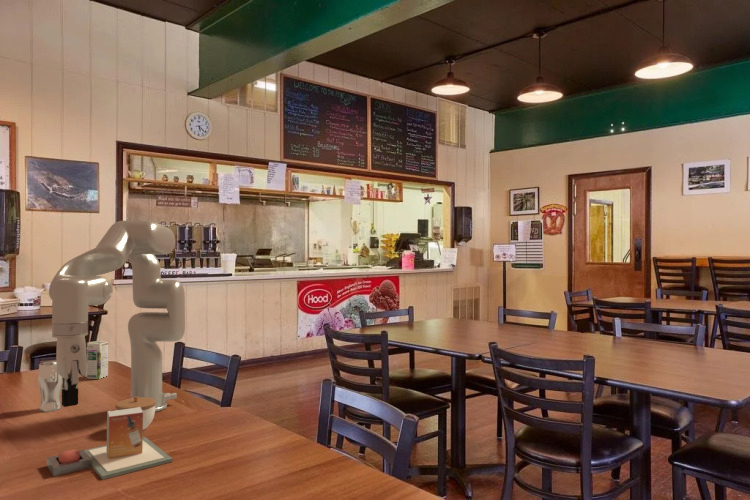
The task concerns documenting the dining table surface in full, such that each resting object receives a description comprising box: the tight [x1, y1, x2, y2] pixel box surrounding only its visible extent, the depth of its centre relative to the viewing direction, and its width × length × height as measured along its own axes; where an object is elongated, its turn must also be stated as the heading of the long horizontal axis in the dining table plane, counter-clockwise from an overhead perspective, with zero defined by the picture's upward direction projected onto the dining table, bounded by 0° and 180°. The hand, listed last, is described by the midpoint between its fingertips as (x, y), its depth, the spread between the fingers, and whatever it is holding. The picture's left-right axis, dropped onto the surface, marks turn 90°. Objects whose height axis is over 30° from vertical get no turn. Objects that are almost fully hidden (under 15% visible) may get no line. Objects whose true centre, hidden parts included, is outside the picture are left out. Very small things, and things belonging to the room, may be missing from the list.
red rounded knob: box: [58, 449, 80, 464], centre depth 129 cm, size 4×4×3 cm
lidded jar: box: [115, 396, 156, 431], centre depth 157 cm, size 11×11×9 cm
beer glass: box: [37, 360, 62, 413], centre depth 174 cm, size 7×7×15 cm
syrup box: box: [86, 340, 109, 380], centre depth 216 cm, size 6×6×14 cm
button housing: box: [46, 449, 93, 477], centre depth 129 cm, size 8×8×2 cm
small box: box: [106, 407, 144, 458], centre depth 136 cm, size 8×6×10 cm
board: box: [83, 436, 173, 481], centre depth 135 cm, size 16×20×1 cm
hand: (69, 405), depth 129 cm, fingers closed
